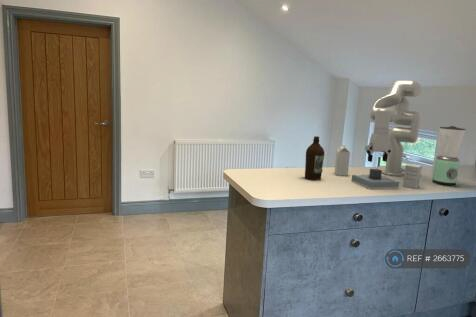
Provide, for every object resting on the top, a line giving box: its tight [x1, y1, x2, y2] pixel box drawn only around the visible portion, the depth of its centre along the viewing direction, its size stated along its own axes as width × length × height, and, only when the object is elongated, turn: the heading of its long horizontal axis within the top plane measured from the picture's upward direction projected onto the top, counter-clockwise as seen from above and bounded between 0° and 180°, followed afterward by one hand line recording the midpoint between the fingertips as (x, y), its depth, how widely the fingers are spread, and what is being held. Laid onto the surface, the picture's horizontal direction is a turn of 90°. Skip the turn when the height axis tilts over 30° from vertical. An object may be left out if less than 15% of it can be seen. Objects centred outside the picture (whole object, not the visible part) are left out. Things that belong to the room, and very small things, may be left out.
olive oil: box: [304, 135, 325, 181], centre depth 212 cm, size 11×11×25 cm
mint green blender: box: [431, 125, 466, 186], centre depth 219 cm, size 19×13×35 cm
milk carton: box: [333, 144, 351, 177], centre depth 229 cm, size 7×7×19 cm
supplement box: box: [402, 163, 423, 190], centre depth 207 cm, size 7×7×13 cm
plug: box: [368, 168, 383, 180], centre depth 206 cm, size 4×4×8 cm
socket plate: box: [351, 173, 400, 190], centre depth 206 cm, size 18×18×5 cm
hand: (377, 161), depth 205 cm, fingers open, 9 cm apart
